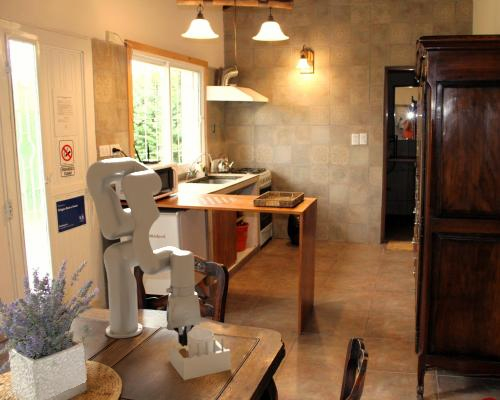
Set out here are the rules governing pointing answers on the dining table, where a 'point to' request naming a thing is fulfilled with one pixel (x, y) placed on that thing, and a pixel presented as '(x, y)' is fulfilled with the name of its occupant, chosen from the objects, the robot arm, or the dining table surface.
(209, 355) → the drying rack
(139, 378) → the dining table surface
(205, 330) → the white cup
